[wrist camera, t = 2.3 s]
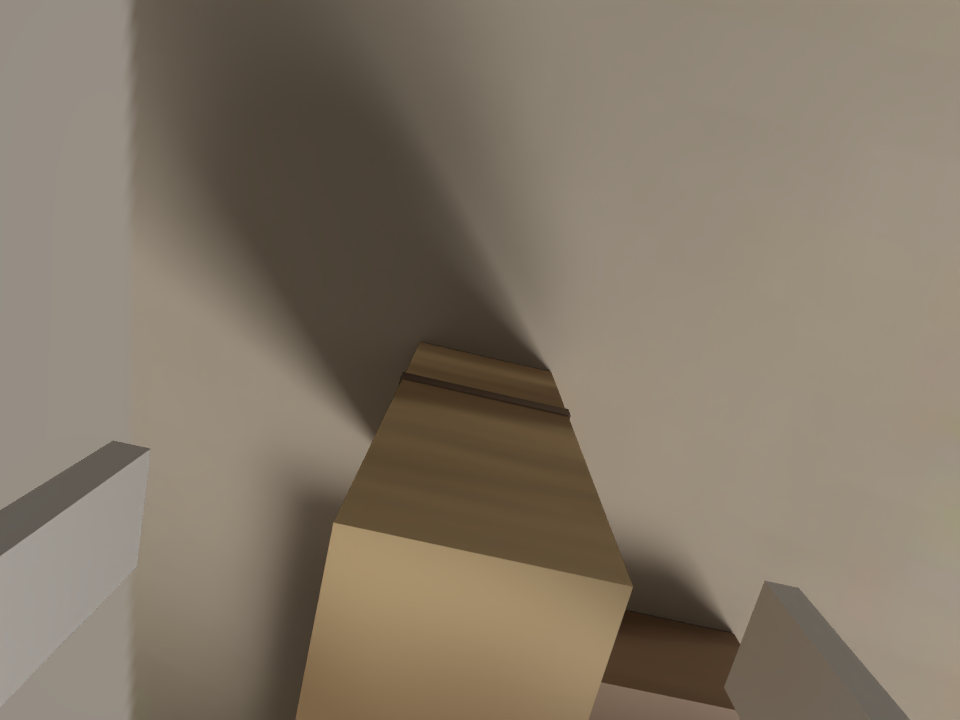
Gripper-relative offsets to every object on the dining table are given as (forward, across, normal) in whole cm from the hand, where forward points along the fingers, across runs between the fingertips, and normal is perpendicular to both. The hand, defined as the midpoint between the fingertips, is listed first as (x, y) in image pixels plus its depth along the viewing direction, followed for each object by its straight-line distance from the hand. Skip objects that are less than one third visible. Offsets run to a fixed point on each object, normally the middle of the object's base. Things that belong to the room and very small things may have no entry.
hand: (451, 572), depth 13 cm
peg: (+9, 0, 0) cm, 9 cm away
